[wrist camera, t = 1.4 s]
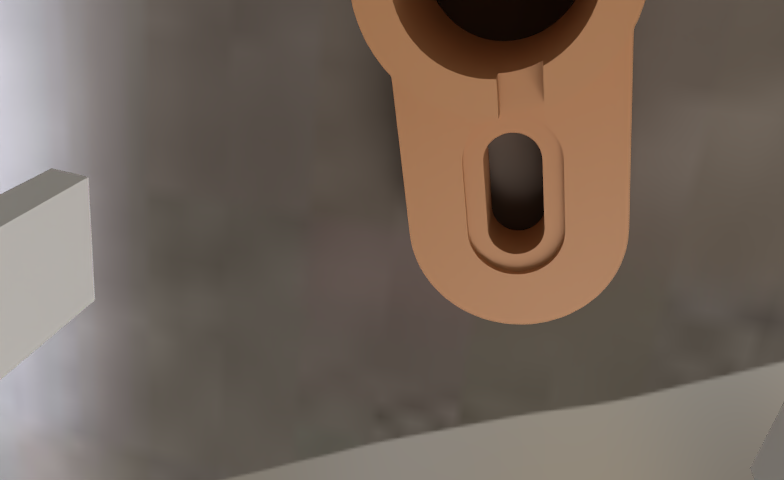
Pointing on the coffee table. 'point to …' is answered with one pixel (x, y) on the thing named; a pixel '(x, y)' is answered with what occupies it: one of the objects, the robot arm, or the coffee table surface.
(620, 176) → the bracket
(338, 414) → the coffee table surface
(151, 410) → the coffee table surface
